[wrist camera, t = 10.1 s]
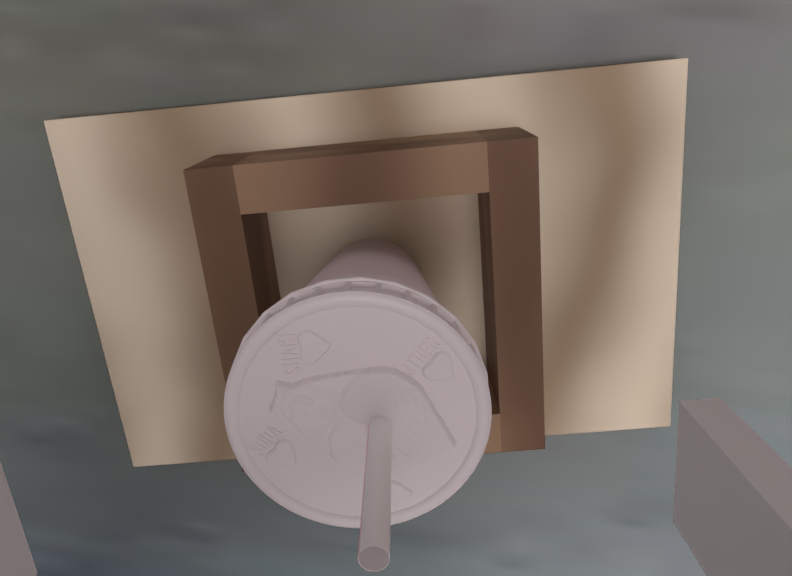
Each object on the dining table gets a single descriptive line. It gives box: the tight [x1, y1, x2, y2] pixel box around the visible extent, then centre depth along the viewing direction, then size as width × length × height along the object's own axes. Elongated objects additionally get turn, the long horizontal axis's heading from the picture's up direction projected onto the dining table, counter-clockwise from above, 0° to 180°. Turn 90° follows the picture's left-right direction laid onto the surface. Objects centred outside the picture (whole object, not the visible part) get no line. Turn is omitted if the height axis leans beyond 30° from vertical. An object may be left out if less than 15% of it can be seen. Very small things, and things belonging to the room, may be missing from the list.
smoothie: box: [224, 239, 492, 572], centre depth 18 cm, size 6×6×14 cm
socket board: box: [44, 58, 688, 472], centre depth 23 cm, size 22×14×4 cm, turn 95°
